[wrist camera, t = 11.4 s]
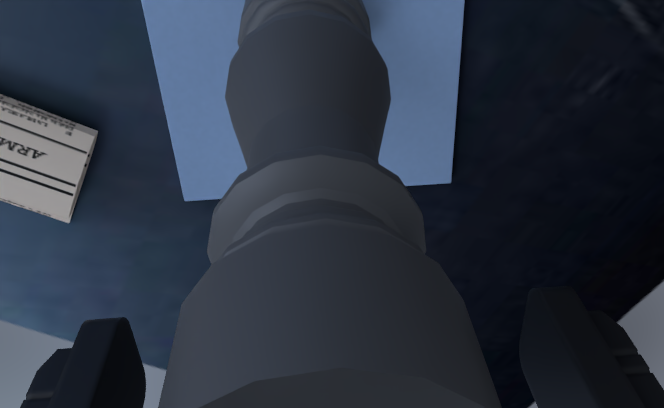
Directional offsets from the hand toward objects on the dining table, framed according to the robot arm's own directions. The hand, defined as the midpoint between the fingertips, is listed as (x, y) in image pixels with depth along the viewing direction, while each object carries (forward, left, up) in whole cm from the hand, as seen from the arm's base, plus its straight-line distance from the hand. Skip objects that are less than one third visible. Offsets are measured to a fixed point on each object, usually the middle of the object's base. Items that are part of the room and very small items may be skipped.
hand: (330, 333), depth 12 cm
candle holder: (0, 0, -22) cm, 22 cm away
